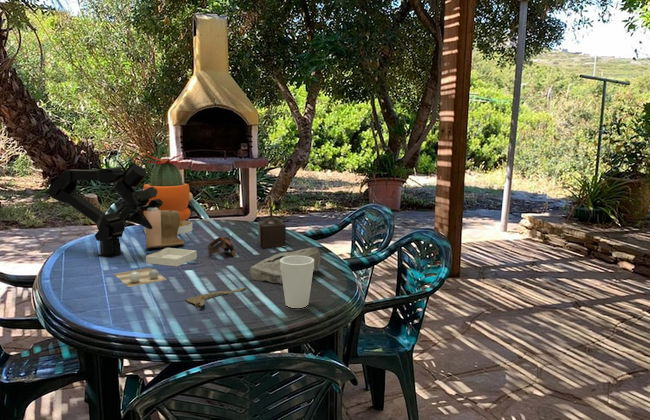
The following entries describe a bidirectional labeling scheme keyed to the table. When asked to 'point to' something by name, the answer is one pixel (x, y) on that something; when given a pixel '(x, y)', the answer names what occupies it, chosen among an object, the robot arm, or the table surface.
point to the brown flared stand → (169, 229)
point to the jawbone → (209, 296)
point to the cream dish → (171, 257)
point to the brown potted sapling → (272, 229)
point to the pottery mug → (221, 246)
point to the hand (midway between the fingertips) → (156, 226)
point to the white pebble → (134, 276)
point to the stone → (271, 266)
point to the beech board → (143, 279)
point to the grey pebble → (153, 274)
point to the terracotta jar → (153, 227)
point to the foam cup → (297, 280)
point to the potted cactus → (171, 191)
